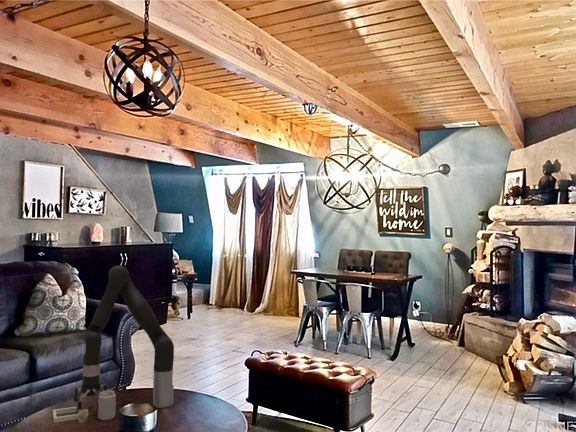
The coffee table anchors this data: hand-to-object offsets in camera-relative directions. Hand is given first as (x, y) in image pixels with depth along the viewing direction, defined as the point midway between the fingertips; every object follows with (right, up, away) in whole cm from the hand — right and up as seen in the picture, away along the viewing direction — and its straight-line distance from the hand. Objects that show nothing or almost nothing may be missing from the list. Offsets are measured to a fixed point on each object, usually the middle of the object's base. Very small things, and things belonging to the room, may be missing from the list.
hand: (89, 408), depth 228 cm
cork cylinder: (+1, -2, -10) cm, 10 cm away
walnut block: (0, -3, 0) cm, 3 cm away
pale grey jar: (+10, -3, -5) cm, 11 cm away
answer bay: (-9, -2, -4) cm, 10 cm away
